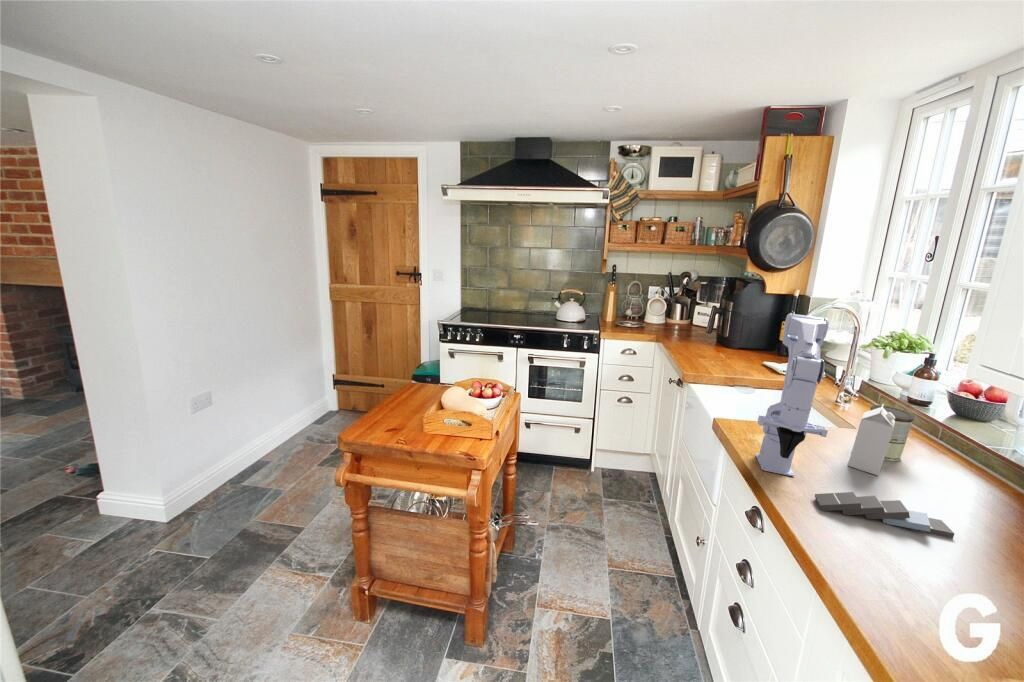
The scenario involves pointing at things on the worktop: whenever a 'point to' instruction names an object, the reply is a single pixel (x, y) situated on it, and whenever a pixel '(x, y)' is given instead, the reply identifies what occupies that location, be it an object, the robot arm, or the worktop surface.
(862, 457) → the milk carton
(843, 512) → the tile
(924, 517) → the tile
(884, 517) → the tile
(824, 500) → the tile
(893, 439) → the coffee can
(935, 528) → the tile
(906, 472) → the worktop surface
